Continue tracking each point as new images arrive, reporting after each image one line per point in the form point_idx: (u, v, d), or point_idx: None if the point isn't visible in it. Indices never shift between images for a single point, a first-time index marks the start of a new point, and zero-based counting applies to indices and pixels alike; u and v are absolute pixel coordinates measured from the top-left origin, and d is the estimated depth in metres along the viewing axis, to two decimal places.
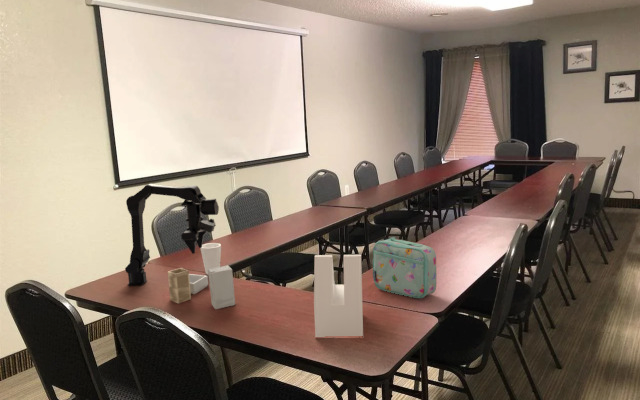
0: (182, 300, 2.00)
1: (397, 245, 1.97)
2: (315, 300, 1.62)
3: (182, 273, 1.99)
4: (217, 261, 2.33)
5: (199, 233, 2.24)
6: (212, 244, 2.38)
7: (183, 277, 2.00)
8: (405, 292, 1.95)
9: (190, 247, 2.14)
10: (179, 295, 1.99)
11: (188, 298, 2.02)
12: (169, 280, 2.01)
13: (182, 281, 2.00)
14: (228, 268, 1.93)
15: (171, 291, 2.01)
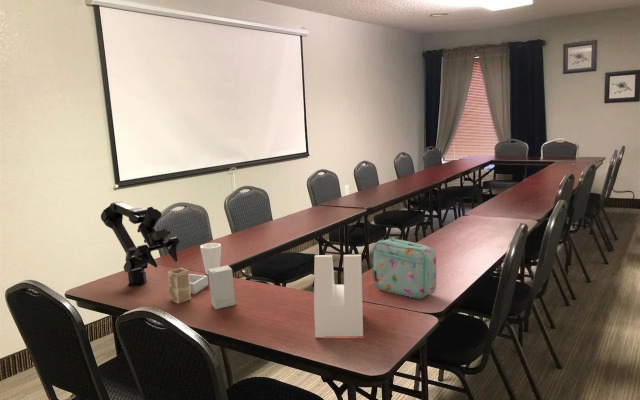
0: (182, 300, 2.00)
1: (397, 245, 1.97)
2: (315, 300, 1.62)
3: (182, 273, 1.99)
4: (217, 261, 2.33)
5: (170, 249, 2.12)
6: (212, 244, 2.38)
7: (183, 277, 2.00)
8: (405, 292, 1.95)
9: (150, 262, 2.03)
10: (179, 295, 1.99)
11: (188, 298, 2.02)
12: (169, 280, 2.01)
13: (182, 281, 2.00)
14: (228, 268, 1.93)
15: (171, 291, 2.01)
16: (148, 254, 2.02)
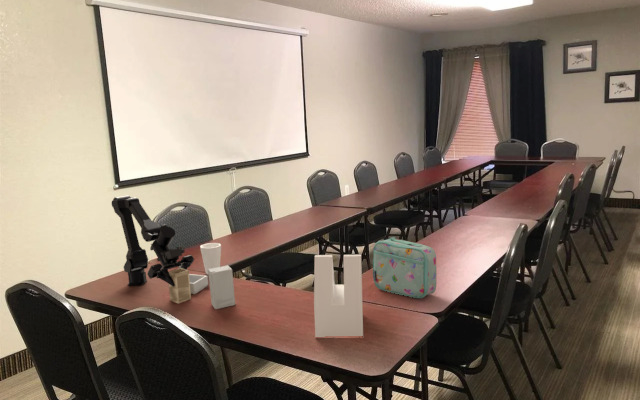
0: (182, 300, 2.00)
1: (397, 245, 1.97)
2: (315, 300, 1.62)
3: (182, 273, 1.99)
4: (217, 261, 2.33)
5: None
6: (212, 244, 2.38)
7: (183, 277, 2.00)
8: (405, 292, 1.95)
9: (167, 281, 1.99)
10: (179, 295, 1.99)
11: (188, 298, 2.02)
12: None
13: (182, 281, 2.00)
14: (228, 268, 1.93)
15: (171, 291, 2.01)
16: (165, 273, 1.98)
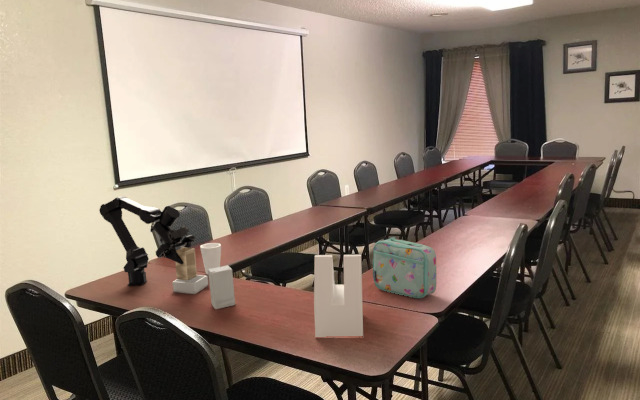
0: (190, 277, 2.08)
1: (397, 245, 1.97)
2: (315, 300, 1.62)
3: (190, 251, 2.07)
4: (217, 261, 2.33)
5: None
6: (212, 244, 2.38)
7: (191, 255, 2.08)
8: (405, 292, 1.95)
9: (175, 260, 2.06)
10: (188, 272, 2.07)
11: (194, 275, 2.11)
12: None
13: (190, 259, 2.08)
14: (228, 268, 1.93)
15: (178, 269, 2.08)
16: (174, 251, 2.05)
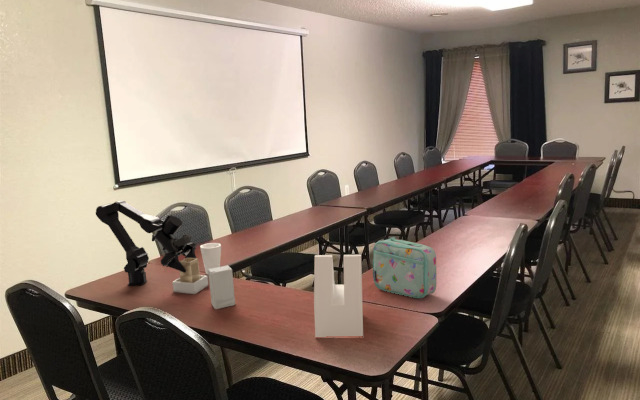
0: None
1: (397, 245, 1.97)
2: (315, 300, 1.62)
3: (194, 261, 2.12)
4: (217, 261, 2.33)
5: (189, 254, 2.19)
6: (212, 244, 2.38)
7: (195, 265, 2.13)
8: (405, 292, 1.95)
9: (178, 268, 2.09)
10: (193, 282, 2.12)
11: None
12: None
13: (194, 269, 2.13)
14: (228, 268, 1.93)
15: (183, 280, 2.12)
16: (176, 260, 2.08)
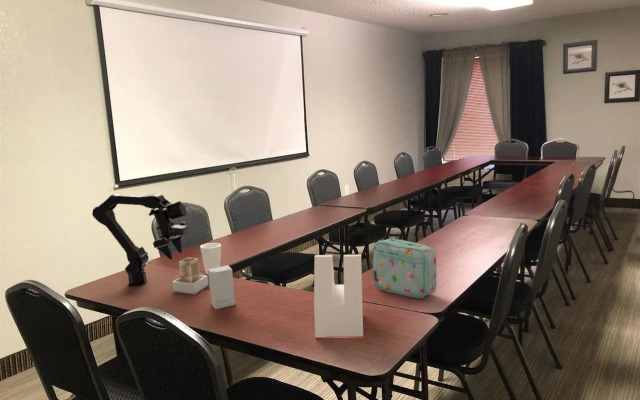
0: None
1: (397, 245, 1.97)
2: (315, 300, 1.62)
3: (194, 261, 2.12)
4: (217, 261, 2.33)
5: (176, 239, 2.25)
6: (212, 244, 2.38)
7: (195, 265, 2.13)
8: (405, 292, 1.95)
9: (166, 254, 2.15)
10: (193, 282, 2.12)
11: None
12: (181, 269, 2.12)
13: (194, 269, 2.13)
14: (228, 268, 1.93)
15: (183, 280, 2.12)
16: (168, 247, 2.14)
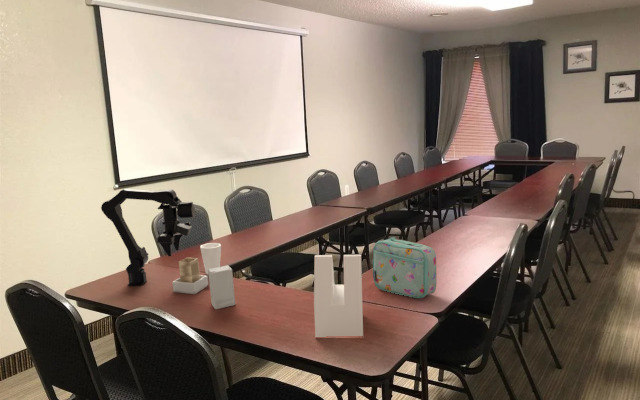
0: None
1: (397, 245, 1.97)
2: (315, 300, 1.62)
3: (194, 261, 2.12)
4: (217, 261, 2.33)
5: (176, 236, 2.27)
6: (212, 244, 2.38)
7: (195, 265, 2.13)
8: (405, 292, 1.95)
9: (166, 250, 2.17)
10: (193, 282, 2.12)
11: None
12: (181, 269, 2.12)
13: (194, 269, 2.13)
14: (228, 268, 1.93)
15: (183, 280, 2.12)
16: (171, 244, 2.16)
